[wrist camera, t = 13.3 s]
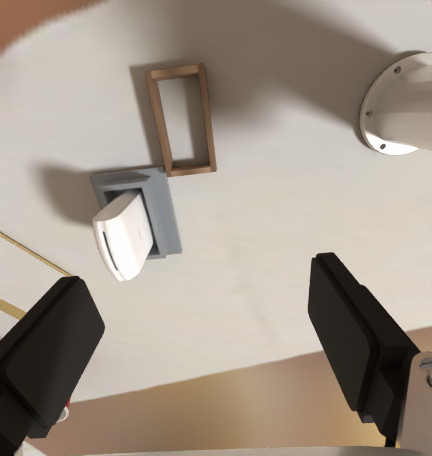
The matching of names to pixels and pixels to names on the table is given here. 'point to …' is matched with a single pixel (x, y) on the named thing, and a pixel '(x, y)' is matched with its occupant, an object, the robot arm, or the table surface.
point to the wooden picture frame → (160, 121)
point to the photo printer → (124, 234)
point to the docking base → (155, 199)
